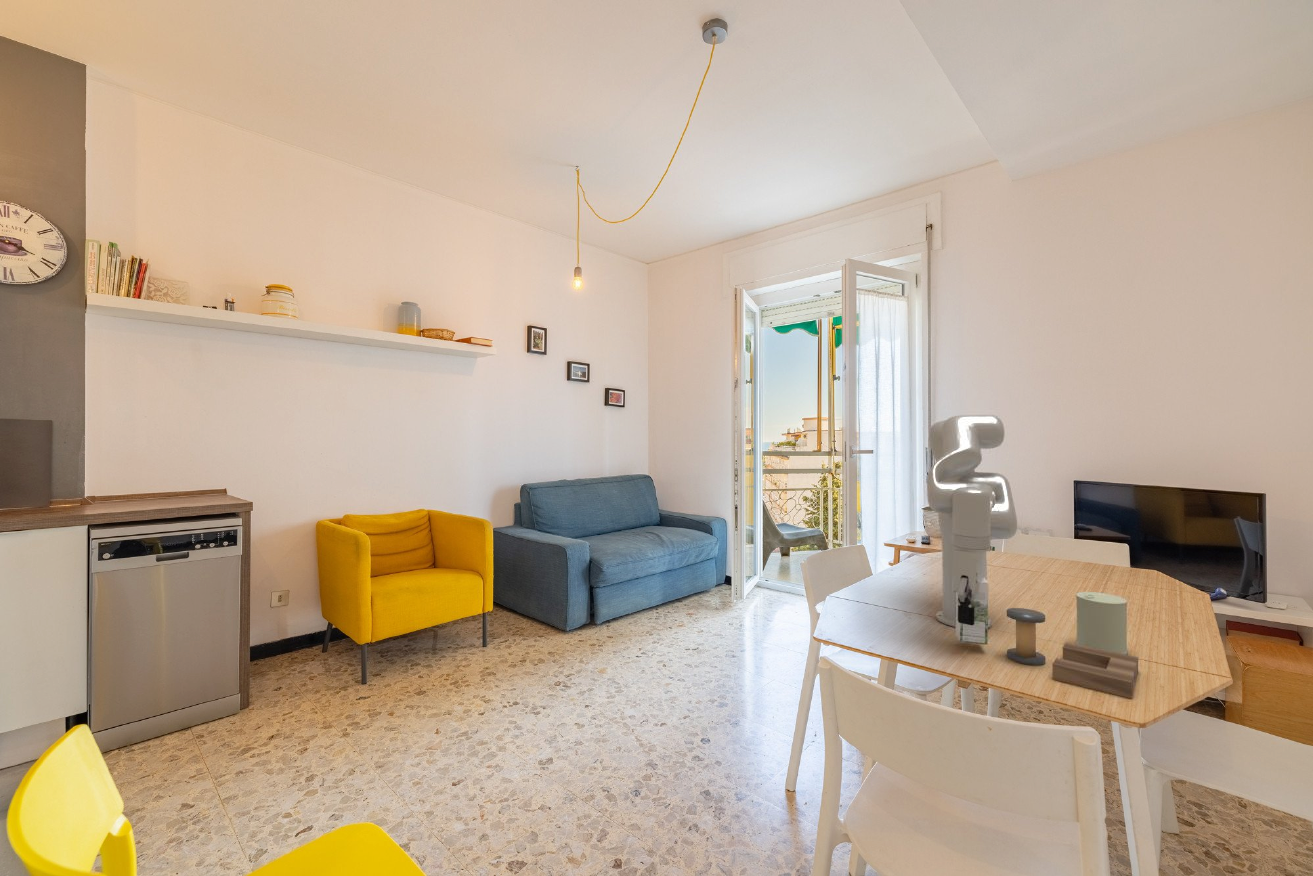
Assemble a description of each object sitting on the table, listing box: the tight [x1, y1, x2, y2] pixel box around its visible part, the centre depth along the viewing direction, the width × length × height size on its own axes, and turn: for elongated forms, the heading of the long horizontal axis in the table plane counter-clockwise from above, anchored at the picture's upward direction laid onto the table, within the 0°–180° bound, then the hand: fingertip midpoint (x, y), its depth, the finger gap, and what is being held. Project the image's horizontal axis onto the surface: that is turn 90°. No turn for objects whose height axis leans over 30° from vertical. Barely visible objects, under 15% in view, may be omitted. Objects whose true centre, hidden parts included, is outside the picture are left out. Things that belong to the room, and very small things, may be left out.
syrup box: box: [954, 578, 989, 646], centre depth 127 cm, size 6×6×14 cm
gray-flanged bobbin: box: [1006, 607, 1047, 667], centre depth 120 cm, size 7×7×10 cm
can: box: [1075, 591, 1129, 655], centre depth 126 cm, size 9×9×12 cm
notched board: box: [1051, 641, 1139, 700], centre depth 112 cm, size 16×12×3 cm
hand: (971, 618), depth 127 cm, fingers closed on syrup box, 7 cm apart
